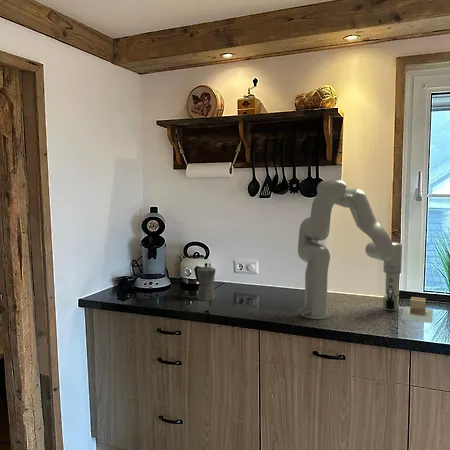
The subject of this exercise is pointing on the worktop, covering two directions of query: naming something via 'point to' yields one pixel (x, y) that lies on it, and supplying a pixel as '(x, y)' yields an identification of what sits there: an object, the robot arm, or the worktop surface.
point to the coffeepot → (205, 282)
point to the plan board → (417, 315)
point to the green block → (396, 300)
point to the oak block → (417, 305)
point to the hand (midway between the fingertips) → (391, 306)
